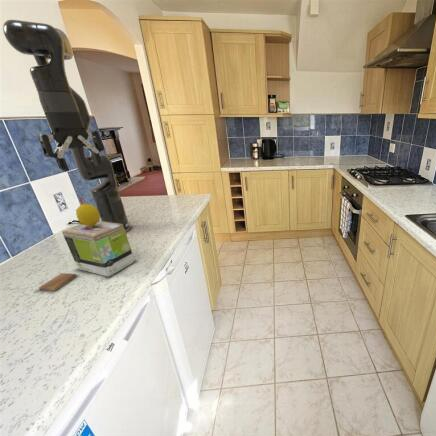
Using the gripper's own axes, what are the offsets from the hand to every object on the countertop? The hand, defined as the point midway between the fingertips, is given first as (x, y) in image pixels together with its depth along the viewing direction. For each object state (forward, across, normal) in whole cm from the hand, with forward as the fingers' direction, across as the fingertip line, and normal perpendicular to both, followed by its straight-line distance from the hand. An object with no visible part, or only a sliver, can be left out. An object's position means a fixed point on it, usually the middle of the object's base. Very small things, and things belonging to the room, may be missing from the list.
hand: (82, 168), depth 74 cm
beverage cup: (+34, -13, -41) cm, 55 cm away
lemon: (+18, +4, +2) cm, 19 cm away
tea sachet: (+33, +16, -2) cm, 36 cm away
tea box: (+33, +4, +2) cm, 33 cm away
